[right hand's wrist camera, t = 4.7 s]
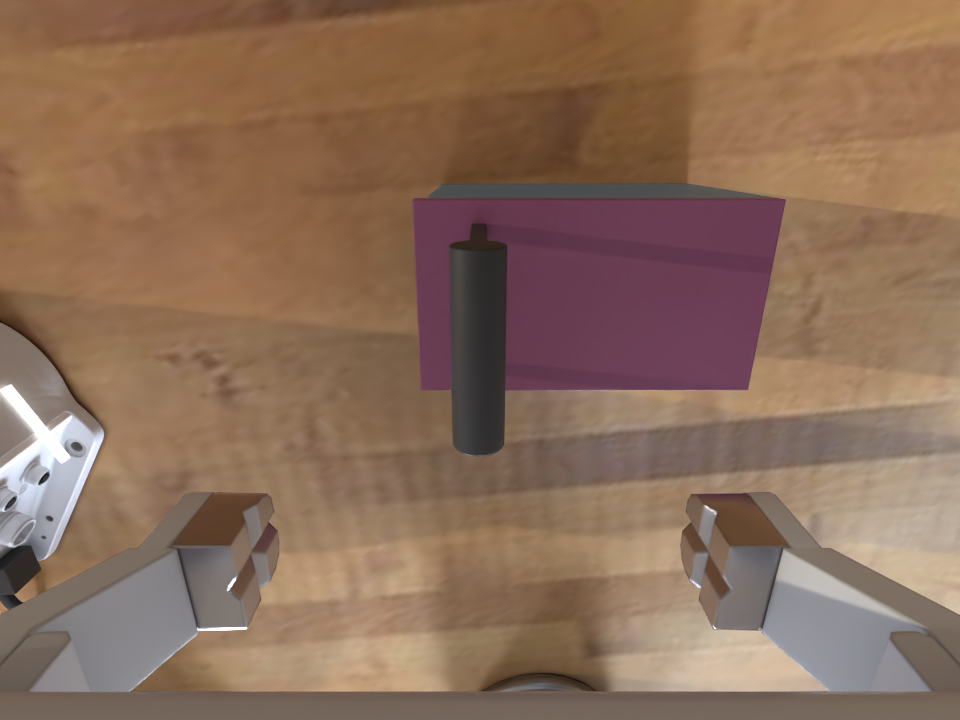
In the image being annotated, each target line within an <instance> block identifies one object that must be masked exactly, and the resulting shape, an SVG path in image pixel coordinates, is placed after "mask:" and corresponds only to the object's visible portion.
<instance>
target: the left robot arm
mask: <svg viewBox="0 0 960 720" xmlns="http://www.w3.org/2000/svg"><path fill="white" fill-rule="evenodd" d="M496 691H594V690H592V689H591V688H590V687H588V686H586V685H584V684H583V683H580V682H578V681H576V680H573V679H570V678H566V677H562V676H557V675H549V674H530V675H522V676H517V677H513V678H509V679H506V680H503V681H500V682H498V683H496V684H494V685H492V686H490V687H488V688H487V689H485V690H484V691H482V692H496Z"/></svg>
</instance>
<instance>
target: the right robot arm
mask: <svg viewBox="0 0 960 720" xmlns="http://www.w3.org/2000/svg"><path fill="white" fill-rule="evenodd" d="M103 438H104V431H103V429H102V427H101V426H100V424H99V423H98V422H97V421H96V420H95V419H94V418H93V417H92V416H91V415H90V414H89V413H88V412H87V411H86V410H85V409H84V408H83V407H81V406H80V405H79V404H78V403H77V402H76V401H75V399H74V398H73V396H72V395H71V393H70V392H69V390H68V388H67V386H66V384H65V383H64V381H63V379H62V377H61V376H60V374H59V373H58V371H57V370H56V368H55V367H54V366H53V364H52V363H51V362H50V361H49V359H48V358H47V357H46V356H45V355H44V354H43V353H42V352H41V351H40V350H39V349H38V348H37V347H36V346H35V345H33V344H32V343H31V342H30V341H29V340H27V339H26V338H25V337H24V336H22V335H21V334H19V333H18V332H16V331H15V330H13V329H12V328H10V327H8V326H6V325H4V324H3V323H1V322H0V601H1V602H2V604H3V605H4V606H5V607H6V608H7V609H8V610H9V611H7V612H5V613H3V614H1V615H0V720H960V615H959V614H957V613H955V612H953V611H951V610H949V609H947V608H945V607H943V606H941V605H939V604H938V603H936V602H934V601H932V600H930V599H928V598H926V597H924V596H922V595H920V594H918V593H916V592H914V591H912V590H910V589H908V588H907V587H905V586H903V585H901V584H899V583H897V582H895V581H893V580H891V579H889V578H887V577H885V576H883V575H881V574H879V573H878V572H876V571H874V570H872V569H870V568H868V567H866V566H864V565H862V564H860V563H858V562H856V561H854V560H852V559H850V558H848V557H847V556H845V555H843V554H841V553H839V552H837V551H835V550H833V549H831V548H821V546H820V545H819V544H818V543H817V542H816V541H815V540H814V538H813V537H812V536H811V535H810V534H809V533H808V532H807V530H806V529H805V528H804V527H803V526H802V525H801V523H800V522H799V521H798V520H797V519H796V518H795V517H794V515H793V514H792V513H791V512H790V511H789V510H788V508H787V507H786V506H785V505H784V504H783V503H782V502H781V500H780V499H779V498H778V497H777V496H776V495H775V494H773V493H770V492H753V493H742V494H691V495H690V497H689V499H688V502H687V507H686V513H687V515H688V517H689V519H690V521H691V523H690V524H689V525H688V526H687V527H686V528H685V529H684V530H683V531H682V538H681V557H682V562H683V566H684V569H685V572H686V574H687V576H688V578H689V581H690V582H692V583H693V584H694V585H696V586H697V587H699V588H700V589H701V590H700V596H699V601H700V603H701V605H702V607H703V609H704V611H705V613H706V615H707V617H708V619H709V621H710V623H711V625H712V627H713V629H720V630H756V631H762V634H763V635H764V636H766V637H767V638H768V639H769V640H770V641H771V642H773V643H774V644H775V645H776V646H777V647H778V648H780V649H781V650H782V651H783V652H784V653H785V654H787V655H788V656H789V657H790V658H791V659H792V660H794V661H795V662H796V663H797V664H798V665H799V666H801V667H802V668H803V669H804V670H805V671H806V672H808V673H809V674H810V675H811V676H812V677H813V678H815V679H816V680H817V681H818V682H819V683H820V684H822V685H823V686H824V687H825V688H826V689H827V690H829V691H805V692H595V691H496V692H130V691H131V690H133V689H134V688H135V687H136V686H137V685H139V684H140V683H141V682H142V681H143V680H144V679H146V678H147V677H148V676H149V675H150V674H151V673H153V672H154V671H155V670H156V669H157V668H158V667H160V666H161V665H162V664H163V663H164V662H165V661H167V660H168V659H169V658H170V657H171V656H172V655H174V654H175V653H176V652H177V651H178V650H179V649H181V648H182V647H183V646H184V645H185V644H186V643H188V642H189V641H190V640H191V639H192V638H193V637H195V636H196V635H197V634H198V631H204V630H238V629H247V628H248V625H249V623H250V621H251V619H252V617H253V615H254V613H255V611H256V609H257V607H258V605H259V603H260V601H261V596H260V590H259V589H260V588H261V587H263V586H264V585H266V584H267V583H268V582H270V581H271V578H272V576H273V574H274V572H275V570H276V566H277V561H278V557H279V537H278V531H277V530H276V529H275V528H274V527H273V526H272V525H271V524H270V523H269V521H270V519H271V517H272V515H273V513H274V508H273V503H272V498H271V497H270V496H269V495H268V494H267V493H221V492H217V493H214V492H191V493H188V494H185V495H184V496H183V497H182V498H181V499H180V500H179V502H178V503H177V504H176V505H175V506H174V507H173V508H172V510H171V511H170V512H169V513H168V514H167V515H166V517H165V518H164V519H163V520H162V521H161V522H160V523H159V525H158V526H157V527H156V528H155V529H154V530H153V531H152V533H151V534H150V535H149V536H148V537H147V538H146V540H145V541H144V542H143V543H142V544H141V545H140V546H139V548H129V549H127V550H125V551H123V552H121V553H119V554H117V555H115V556H113V557H111V558H110V559H108V560H106V561H104V562H102V563H100V564H98V565H96V566H94V567H92V568H90V569H88V570H86V571H84V572H82V573H80V574H78V575H77V576H75V577H73V578H71V579H69V580H67V581H65V582H63V583H61V584H59V585H57V586H55V587H53V588H51V589H49V590H47V591H45V592H44V593H42V594H40V595H38V596H36V597H34V598H32V599H30V600H28V601H26V602H24V603H23V602H21V601H20V600H18V599H17V597H16V596H15V595H14V594H16V593H17V592H18V591H19V590H20V589H21V588H22V587H23V586H24V585H25V584H27V583H28V582H29V581H30V580H31V579H32V578H33V577H34V576H35V575H36V574H37V573H38V572H39V571H40V570H41V568H40V565H39V563H38V561H40V560H44V559H46V558H47V557H48V556H50V555H51V554H52V553H53V552H54V551H55V550H56V548H57V546H58V544H59V542H60V539H61V537H62V535H63V532H64V530H65V528H66V525H67V523H68V521H69V518H70V516H71V514H72V511H73V509H74V506H75V504H76V502H77V499H78V497H79V495H80V492H81V490H82V488H83V485H84V483H85V481H86V478H87V476H88V474H89V471H90V469H91V467H92V464H93V462H94V460H95V457H96V455H97V453H98V450H99V448H100V446H101V443H102V441H103ZM79 443H80V444H81V445H82V446H81V445H79Z"/></svg>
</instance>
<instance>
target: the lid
mask: <svg viewBox="0 0 960 720" xmlns="http://www.w3.org/2000/svg"><path fill="white" fill-rule="evenodd" d="M784 206H785V199H779V198H415V199H414V200H412V210H413V231H414V253H415V275H416V296H417V318H418V340H419V361H420V383H421V390H452V424H453V445H454V447H455V448H456V450H458V451H459V452H461V453H463V454H466V455H470V456H487V455H491V454H494V453H496V452H498V451H499V450H501V448H502V447H503V445H504V425H505V390H748V386H749V381H750V376H751V371H752V366H753V361H754V356H755V351H756V346H757V341H758V336H759V331H760V326H761V321H762V316H763V311H764V306H765V301H766V296H767V291H768V286H769V281H770V276H771V271H772V266H773V261H774V256H775V251H776V246H777V241H778V236H779V231H780V226H781V221H782V216H783V211H784Z"/></svg>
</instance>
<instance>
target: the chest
mask: <svg viewBox="0 0 960 720" xmlns="http://www.w3.org/2000/svg"><path fill="white" fill-rule="evenodd" d="M427 198H772V197H766V196H760V195H753V194H747V193H741V192H735V191H729V190H723V189H716V188H710V187H704V186H698V185H691V184H442V185H441V186H440V187H439V188H438V189H436V190H435V191H434V192H433V193H432V194H431V195H430V196H428V197H427Z"/></svg>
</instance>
